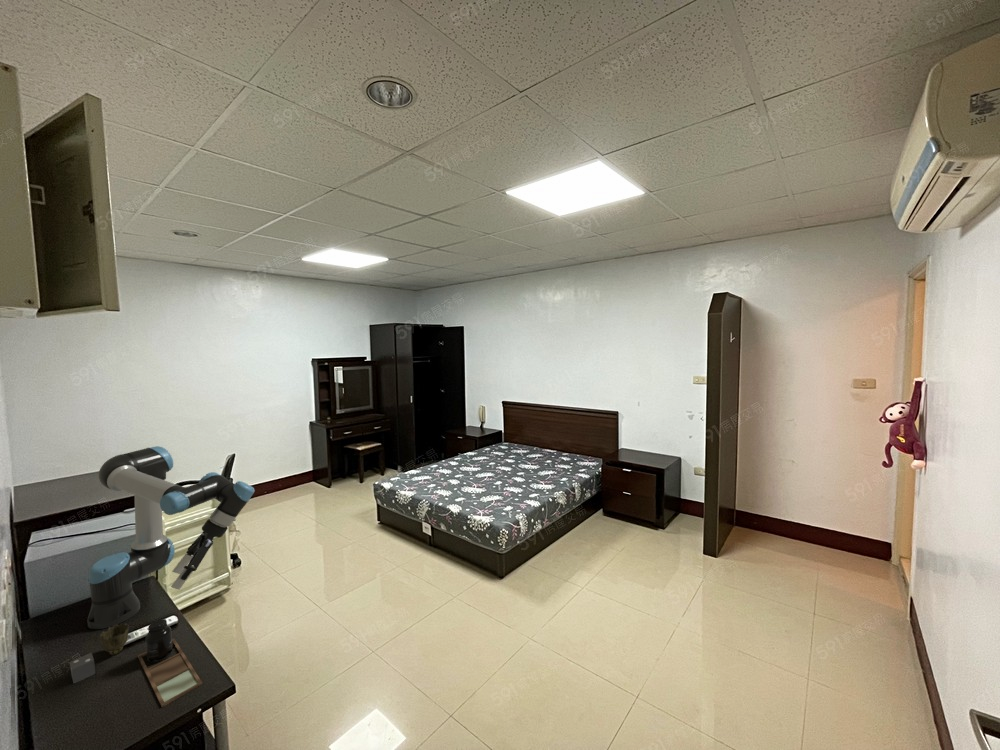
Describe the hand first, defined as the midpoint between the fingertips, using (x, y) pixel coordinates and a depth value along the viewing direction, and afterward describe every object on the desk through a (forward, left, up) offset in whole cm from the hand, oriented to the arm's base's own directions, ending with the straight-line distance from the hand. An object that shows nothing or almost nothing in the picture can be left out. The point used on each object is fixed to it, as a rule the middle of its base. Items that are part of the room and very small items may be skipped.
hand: (175, 580), depth 142 cm
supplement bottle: (+1, -6, -26) cm, 26 cm away
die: (+1, -26, -26) cm, 36 cm away
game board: (+10, -1, -25) cm, 27 cm away
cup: (-7, -21, -26) cm, 34 cm away
